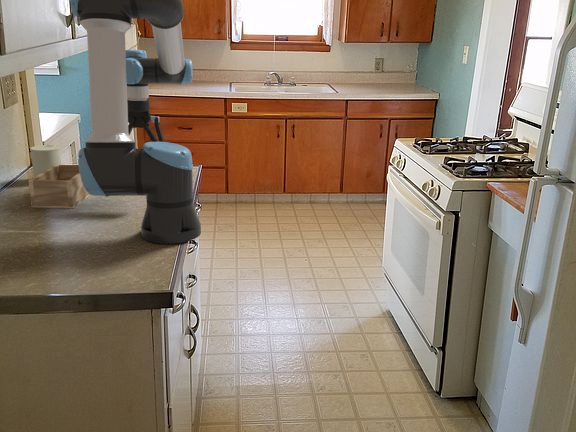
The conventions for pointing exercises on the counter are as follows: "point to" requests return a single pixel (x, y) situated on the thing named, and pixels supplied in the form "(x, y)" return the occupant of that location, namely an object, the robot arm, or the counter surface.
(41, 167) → the can
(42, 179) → the light wood open box
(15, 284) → the counter surface
